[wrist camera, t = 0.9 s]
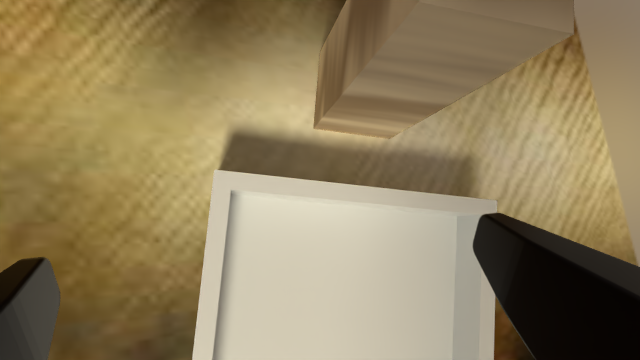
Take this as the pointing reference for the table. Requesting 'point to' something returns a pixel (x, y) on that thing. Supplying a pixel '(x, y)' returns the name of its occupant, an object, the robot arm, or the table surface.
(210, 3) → the table surface
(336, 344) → the white square tray
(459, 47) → the wooden square post
